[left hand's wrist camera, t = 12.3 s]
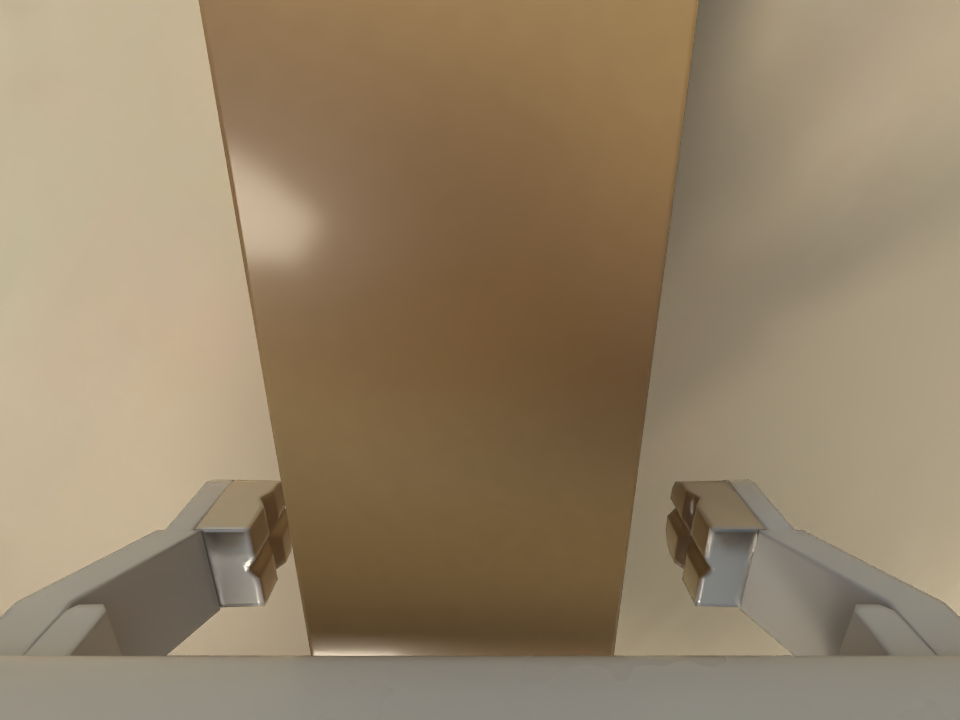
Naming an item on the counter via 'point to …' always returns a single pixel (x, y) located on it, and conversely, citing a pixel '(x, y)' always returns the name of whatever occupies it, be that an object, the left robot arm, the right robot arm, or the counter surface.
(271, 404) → the post
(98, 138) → the counter surface
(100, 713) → the left robot arm
